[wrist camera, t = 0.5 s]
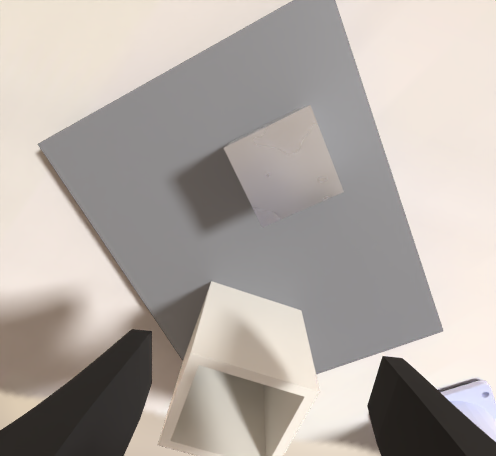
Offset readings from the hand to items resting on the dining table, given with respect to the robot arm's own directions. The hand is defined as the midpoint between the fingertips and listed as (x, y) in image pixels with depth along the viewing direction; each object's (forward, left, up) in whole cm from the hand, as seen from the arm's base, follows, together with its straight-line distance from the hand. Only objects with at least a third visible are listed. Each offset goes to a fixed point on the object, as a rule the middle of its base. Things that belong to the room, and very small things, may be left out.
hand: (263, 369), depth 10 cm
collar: (-4, +3, -9) cm, 10 cm away
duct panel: (+1, 0, -10) cm, 10 cm away
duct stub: (+5, -3, -10) cm, 11 cm away
